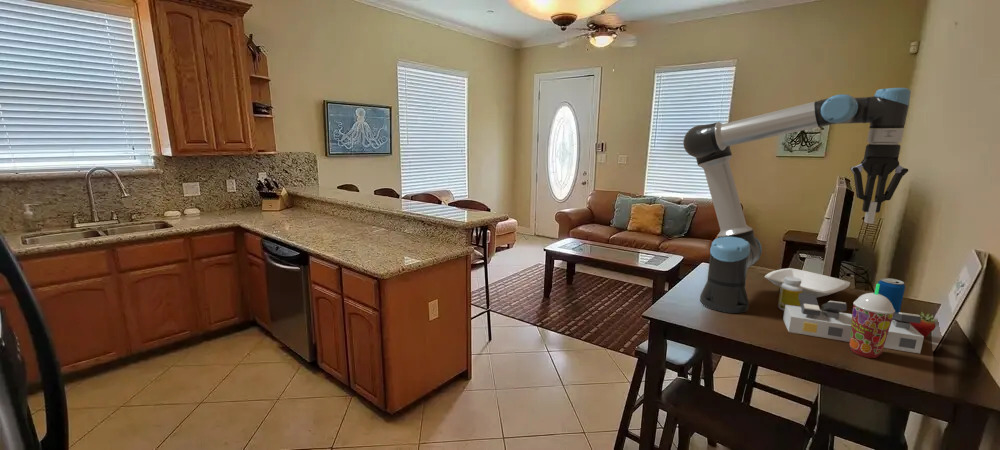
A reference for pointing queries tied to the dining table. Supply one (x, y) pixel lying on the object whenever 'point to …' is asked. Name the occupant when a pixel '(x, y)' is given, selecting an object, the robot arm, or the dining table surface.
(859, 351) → the smoothie
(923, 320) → the fruit
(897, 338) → the switch unit
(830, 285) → the bowl
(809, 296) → the rocker
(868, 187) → the robot arm
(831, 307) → the rocker
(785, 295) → the pill bottle
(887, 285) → the beverage can
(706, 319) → the dining table surface
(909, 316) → the rocker
